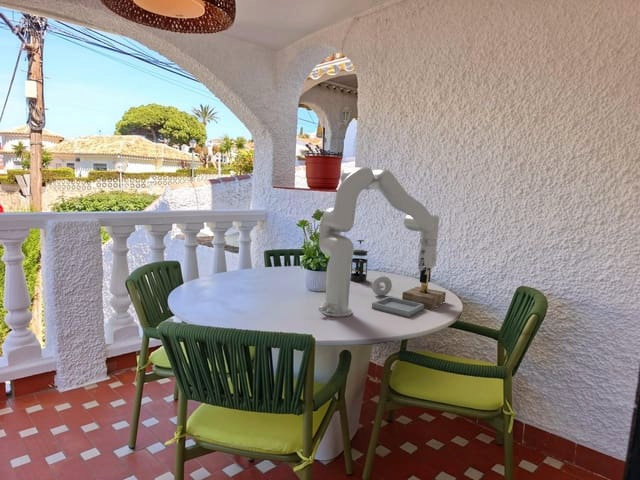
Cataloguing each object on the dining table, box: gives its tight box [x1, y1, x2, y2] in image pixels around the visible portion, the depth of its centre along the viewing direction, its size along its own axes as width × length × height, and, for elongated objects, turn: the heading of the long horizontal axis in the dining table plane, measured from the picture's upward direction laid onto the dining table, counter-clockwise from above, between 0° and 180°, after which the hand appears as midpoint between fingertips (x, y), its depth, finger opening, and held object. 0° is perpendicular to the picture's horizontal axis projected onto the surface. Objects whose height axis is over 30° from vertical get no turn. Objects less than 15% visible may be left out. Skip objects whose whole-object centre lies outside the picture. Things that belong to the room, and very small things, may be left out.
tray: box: [371, 296, 425, 319], centre depth 166 cm, size 15×17×2 cm
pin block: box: [401, 286, 447, 310], centre depth 177 cm, size 16×14×5 cm
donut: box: [371, 275, 393, 297], centre depth 186 cm, size 10×4×10 cm, turn 99°
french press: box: [350, 239, 369, 283], centre depth 215 cm, size 12×9×23 cm
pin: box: [420, 269, 429, 294], centre depth 176 cm, size 3×3×12 cm
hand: (424, 281), depth 176 cm, fingers closed on pin, 3 cm apart
